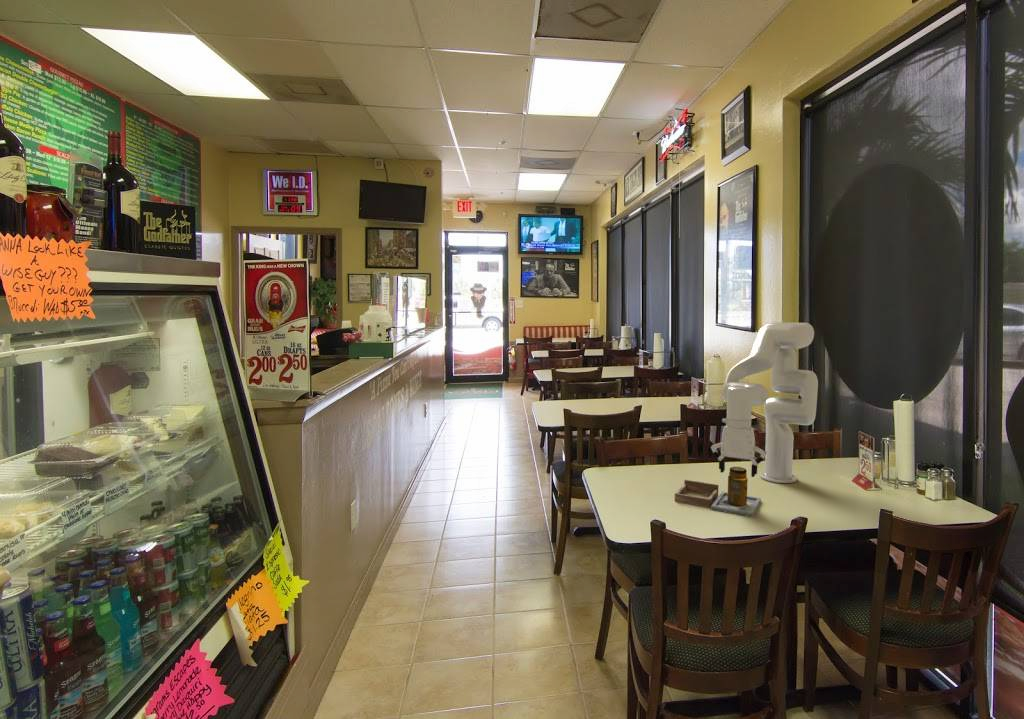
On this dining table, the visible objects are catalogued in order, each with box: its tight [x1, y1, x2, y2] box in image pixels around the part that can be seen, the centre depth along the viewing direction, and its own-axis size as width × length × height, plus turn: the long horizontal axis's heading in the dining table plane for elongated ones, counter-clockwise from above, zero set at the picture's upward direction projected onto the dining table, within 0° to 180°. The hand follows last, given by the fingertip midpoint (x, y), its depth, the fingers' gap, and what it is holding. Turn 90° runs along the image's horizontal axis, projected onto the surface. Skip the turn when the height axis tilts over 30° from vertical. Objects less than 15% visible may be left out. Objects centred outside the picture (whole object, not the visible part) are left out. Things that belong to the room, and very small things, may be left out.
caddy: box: [674, 479, 720, 508], centre depth 189 cm, size 13×12×4 cm
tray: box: [710, 491, 762, 517], centre depth 182 cm, size 16×13×1 cm
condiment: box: [718, 466, 752, 509], centre depth 182 cm, size 7×8×12 cm
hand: (737, 473), depth 182 cm, fingers open, 9 cm apart
